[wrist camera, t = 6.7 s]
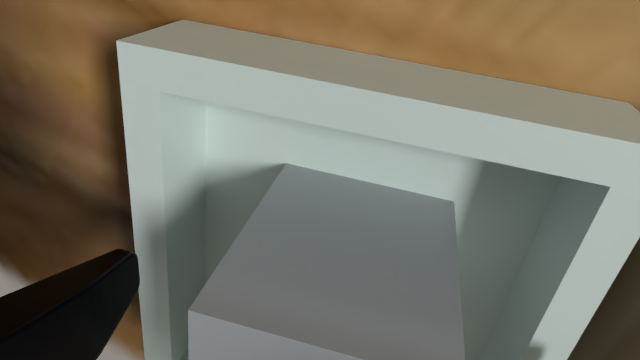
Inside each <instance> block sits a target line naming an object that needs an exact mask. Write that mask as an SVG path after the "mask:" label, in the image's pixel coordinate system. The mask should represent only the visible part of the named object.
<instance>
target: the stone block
mask: <svg viewBox="0 0 640 360" xmlns="http://www.w3.org/2000/svg"><path fill="white" fill-rule="evenodd" d="M188 353H189V360H465V350H464V336H463V322H462V307H461V293H460V279H459V265H458V250H457V236H456V222H455V208H454V201H449V200H445V199H441V198H436V197H432V196H428V195H423V194H419V193H414V192H410V191H406V190H401V189H397V188H393V187H388V186H384V185H379V184H375V183H371V182H366V181H362V180H358V179H353V178H349V177H344V176H340V175H336V174H331V173H327V172H323V171H318V170H314V169H309V168H305V167H301V166H296V165H292V164H288V163H286V165H285V166H284V168H283V169H282V170H281V172H280V173H279V175H278V176H277V178H276V179H275V181H274V182H273V184H272V185H271V187H270V188H269V190H268V191H267V193H266V194H265V196H264V197H263V199H262V200H261V202H260V203H259V205H258V206H257V208H256V209H255V211H254V212H253V214H252V215H251V217H250V218H249V220H248V221H247V223H246V224H245V226H244V227H243V229H242V230H241V232H240V233H239V235H238V236H237V238H236V239H235V241H234V242H233V244H232V245H231V247H230V248H229V250H228V251H227V253H226V254H225V256H224V257H223V259H222V260H221V262H220V263H219V265H218V266H217V268H216V269H215V271H214V272H213V274H212V275H211V277H210V278H209V280H208V281H207V283H206V284H205V286H204V287H203V289H202V290H201V292H200V293H199V295H198V296H197V298H196V299H195V301H194V302H193V303H192V305H191V306H190V308H189V309H188Z"/></svg>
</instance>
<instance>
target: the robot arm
mask: <svg viewBox="0 0 640 360" xmlns="http://www.w3.org/2000/svg"><path fill="white" fill-rule="evenodd" d="M139 285H140V275H139V264H138V256H137V255H136V253H134V252H131V251H127V250H123V249H116V250H113V251H111V252H109V253H106V254H104V255H101V256H99V257H96V258H94V259H92V260H89V261H87V262H84V263H82V264H80V265H77V266H75V267H72V268H70V269H68V270H65V271H63V272H60V273H58V274H55V275H53V276H51V277H48V278H46V279H43V280H41V281H39V282H36V283H34V284H31V285H29V286H26V287H24V288H22V289H19V290H17V291H14V292H12V293H10V294H7V295H5V296H2V297H0V360H96V359H97V358H98V356H99V355H100V354H101V352H102V350H103V349H104V347H105V346H106V344H107V342H108V341H109V339H110V337H111V336H112V334H113V332H114V330H115V329H116V327H117V325H118V324H119V322H120V320H121V318H122V317H123V315H124V313H125V312H126V310H127V308H128V306H129V305H130V303H131V301H132V299H133V298H134V296H135V294H136V293H137V291H138V288H139Z"/></svg>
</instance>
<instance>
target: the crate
mask: <svg viewBox="0 0 640 360" xmlns="http://www.w3.org/2000/svg"><path fill="white" fill-rule="evenodd" d="M567 360H640V237H639V239H638V241H637V243H636V244H635V246H634V248H633V249H632V251H631V253H630V254H629V256H628V258H627V259H626V261H625V263H624V264H623V266H622V268H621V269H620V271H619V273H618V275H617V276H616V278H615V280H614V281H613V283H612V285H611V286H610V288H609V290H608V291H607V293H606V295H605V296H604V298H603V300H602V302H601V303H600V305H599V307H598V308H597V310H596V312H595V313H594V315H593V317H592V318H591V320H590V322H589V323H588V325H587V327H586V328H585V330H584V332H583V334H582V335H581V337H580V339H579V340H578V342H577V344H576V345H575V347H574V349H573V350H572V352H571V354H570V355H569V357H568V359H567Z"/></svg>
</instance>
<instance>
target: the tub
mask: <svg viewBox="0 0 640 360" xmlns="http://www.w3.org/2000/svg"><path fill="white" fill-rule="evenodd" d="M116 44H117V55H118V67H119V78H120V89H121V100H122V111H123V122H124V133H125V145H126V156H127V167H128V178H129V189H130V200H131V211H132V223H133V234H134V245H135V253H136V255H137V256H138V264H139V275H140V285H139V288H138V289H139V301H140V312H141V323H142V334H143V345H144V356H145V360H189V353H188V309H189V308H190V306H191V305H192V303H193V302H194V301H195V299H196V298H197V296H198V295H199V293H200V292H201V290H202V289H203V287H204V286H205V284H206V283H207V281H208V280H209V278H210V277H211V275H212V274H213V272H214V271H215V269H216V268H217V266H218V265H219V263H220V262H221V260H222V259H223V257H224V256H225V254H226V253H227V251H228V250H229V248H230V247H231V245H232V244H233V242H234V241H235V239H236V238H237V236H238V235H239V233H240V232H241V230H242V229H243V227H244V226H245V224H246V223H247V221H248V220H249V218H250V217H251V215H252V214H253V212H254V211H255V209H256V208H257V206H258V205H259V203H260V202H261V200H262V199H263V197H264V196H265V194H266V193H267V191H268V190H269V188H270V187H271V185H272V184H273V182H274V181H275V179H276V178H277V176H278V175H279V173H280V172H281V170H282V169H283V168H284V166H285V165H286V163H288V164H292V165H296V166H301V167H305V168H309V169H314V170H318V171H323V172H327V173H331V174H336V175H340V176H344V177H349V178H353V179H358V180H362V181H366V182H371V183H375V184H379V185H384V186H388V187H393V188H397V189H401V190H406V191H410V192H414V193H419V194H423V195H428V196H432V197H436V198H441V199H445V200H449V201H454V208H455V222H456V236H457V250H458V265H459V279H460V293H461V307H462V322H463V336H464V350H465V360H567V359H568V357H569V355H570V354H571V352H572V350H573V349H574V347H575V345H576V344H577V342H578V340H579V339H580V337H581V335H582V334H583V332H584V330H585V328H586V327H587V325H588V323H589V322H590V320H591V318H592V317H593V315H594V313H595V312H596V310H597V308H598V307H599V305H600V303H601V302H602V300H603V298H604V296H605V295H606V293H607V291H608V290H609V288H610V286H611V285H612V283H613V281H614V280H615V278H616V276H617V275H618V273H619V271H620V269H621V268H622V266H623V264H624V263H625V261H626V259H627V258H628V256H629V254H630V253H631V251H632V249H633V248H634V246H635V244H636V243H637V241H638V239H639V237H640V112H639V111H638V110H637V109H636V108H635V107H633V106H632V105H631V104H630V103H628V102H622V101H617V100H612V99H606V98H601V97H596V96H590V95H585V94H579V93H574V92H569V91H563V90H558V89H553V88H547V87H542V86H537V85H531V84H526V83H521V82H515V81H510V80H504V79H499V78H494V77H488V76H483V75H478V74H472V73H467V72H462V71H456V70H451V69H445V68H440V67H435V66H429V65H424V64H419V63H413V62H408V61H403V60H397V59H392V58H387V57H381V56H376V55H370V54H365V53H360V52H354V51H349V50H344V49H338V48H333V47H328V46H322V45H317V44H312V43H306V42H301V41H295V40H290V39H285V38H279V37H274V36H269V35H263V34H258V33H253V32H247V31H242V30H236V29H231V28H226V27H220V26H215V25H210V24H204V23H199V22H194V21H188V20H180V21H177V22H174V23H170V24H167V25H164V26H161V27H158V28H154V29H151V30H148V31H145V32H142V33H139V34H135V35H132V36H129V37H126V38H123V39H120V40H116Z"/></svg>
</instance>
